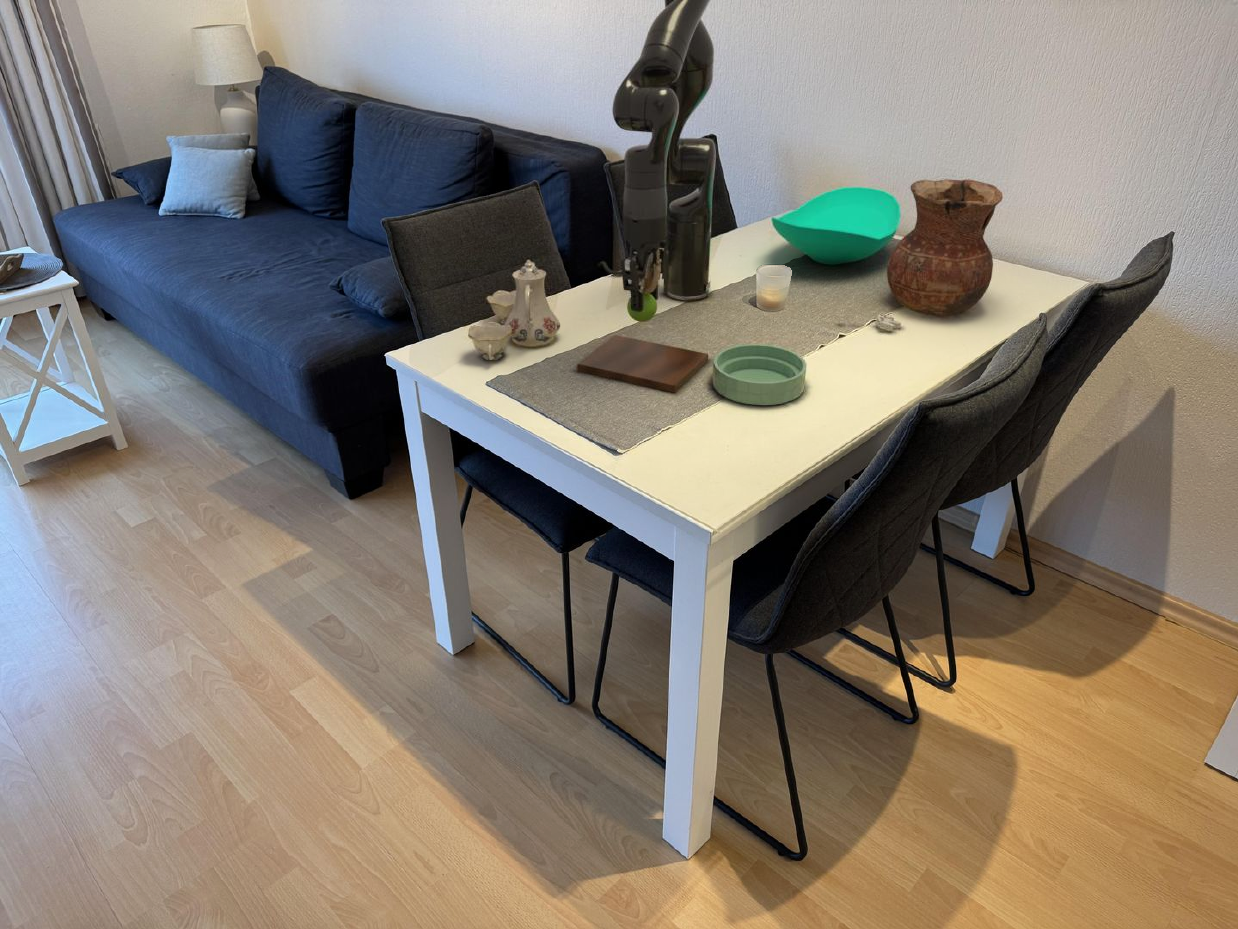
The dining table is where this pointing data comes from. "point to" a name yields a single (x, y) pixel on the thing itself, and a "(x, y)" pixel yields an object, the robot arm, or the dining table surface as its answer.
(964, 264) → the jug
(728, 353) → the bowl
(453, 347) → the dining table surface
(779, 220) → the table top decor
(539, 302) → the chinaware
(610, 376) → the walnut board
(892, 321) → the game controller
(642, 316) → the snail figurine
